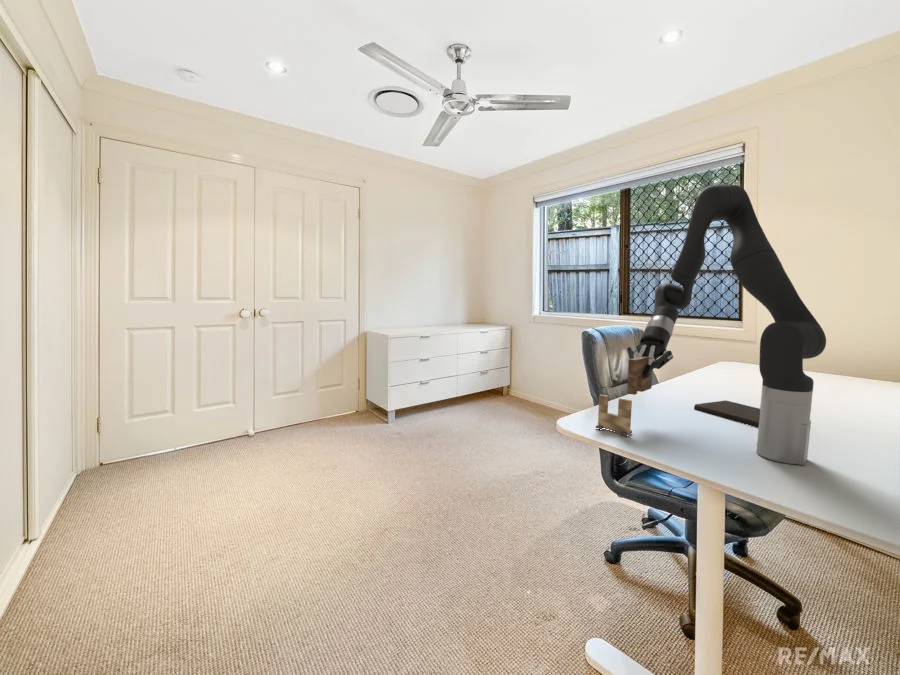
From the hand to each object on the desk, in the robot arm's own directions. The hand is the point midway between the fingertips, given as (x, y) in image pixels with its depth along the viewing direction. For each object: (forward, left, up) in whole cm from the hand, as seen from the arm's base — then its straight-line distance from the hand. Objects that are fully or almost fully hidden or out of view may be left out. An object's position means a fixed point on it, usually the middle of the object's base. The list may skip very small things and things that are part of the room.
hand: (639, 376), depth 116 cm
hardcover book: (-19, -37, -16) cm, 44 cm away
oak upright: (+3, +10, -15) cm, 18 cm away
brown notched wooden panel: (0, -1, -4) cm, 5 cm away
